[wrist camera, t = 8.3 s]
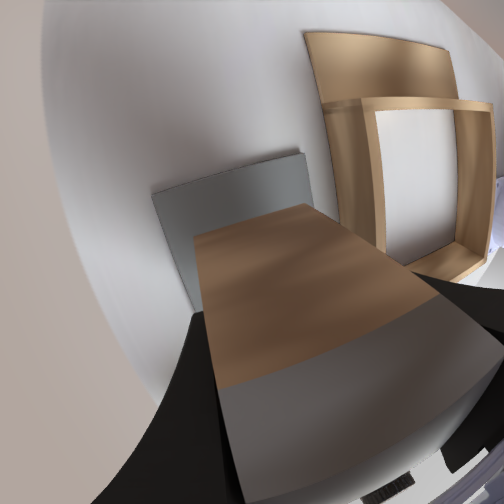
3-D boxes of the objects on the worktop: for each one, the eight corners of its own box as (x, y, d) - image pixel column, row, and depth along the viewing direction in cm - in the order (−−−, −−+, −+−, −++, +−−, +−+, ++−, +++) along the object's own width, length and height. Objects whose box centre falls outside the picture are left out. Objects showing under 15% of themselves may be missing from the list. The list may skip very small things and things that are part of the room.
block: (304, 202, 11) (508, 350, 3) (317, 294, 13) (438, 450, 5) (193, 236, 10) (246, 503, 2) (225, 326, 12) (288, 524, 4)
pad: (301, 152, 13) (304, 153, 13) (320, 278, 16) (323, 281, 16) (152, 194, 12) (151, 196, 12) (200, 319, 16) (200, 323, 15)
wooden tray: (446, 51, 12) (481, 48, 9) (451, 283, 21) (476, 301, 18) (303, 34, 10) (337, 11, 7) (346, 339, 19) (369, 370, 16)
